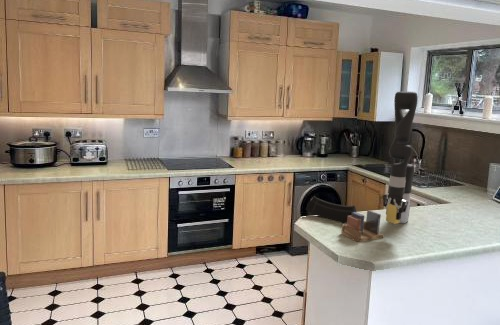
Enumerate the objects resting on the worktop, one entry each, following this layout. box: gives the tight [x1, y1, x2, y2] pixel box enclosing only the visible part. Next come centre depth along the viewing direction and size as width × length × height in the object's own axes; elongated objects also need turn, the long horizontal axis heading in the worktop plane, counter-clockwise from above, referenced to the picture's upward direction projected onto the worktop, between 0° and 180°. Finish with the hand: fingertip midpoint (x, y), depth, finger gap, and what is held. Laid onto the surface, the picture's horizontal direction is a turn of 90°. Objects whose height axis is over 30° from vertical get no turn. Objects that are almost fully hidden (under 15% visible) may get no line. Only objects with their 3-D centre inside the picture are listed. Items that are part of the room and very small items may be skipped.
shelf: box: [340, 211, 384, 243], centre depth 209 cm, size 17×12×12 cm
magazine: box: [305, 195, 357, 224], centre depth 233 cm, size 17×3×30 cm
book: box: [385, 203, 401, 225], centre depth 206 cm, size 4×6×9 cm, turn 30°
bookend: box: [365, 210, 382, 234], centre depth 212 cm, size 1×8×10 cm, turn 30°
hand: (393, 217), depth 206 cm, fingers closed on book, 5 cm apart
